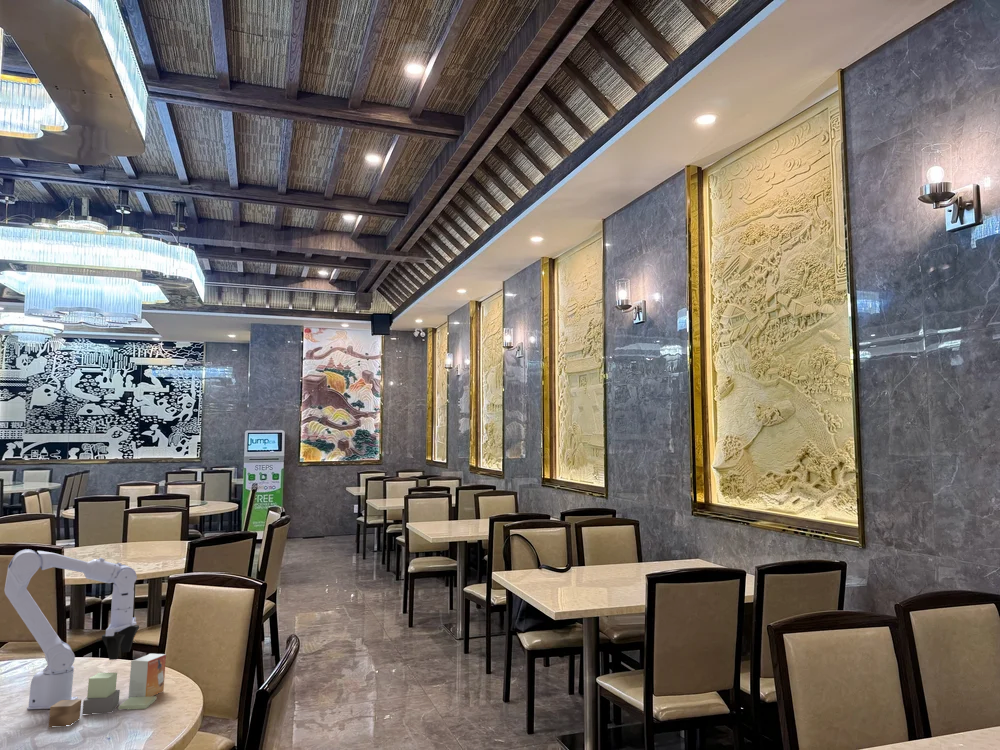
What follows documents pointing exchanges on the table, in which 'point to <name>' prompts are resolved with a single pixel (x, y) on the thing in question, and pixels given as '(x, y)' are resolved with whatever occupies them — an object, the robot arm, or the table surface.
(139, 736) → the table surface
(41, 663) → the table surface
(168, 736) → the table surface
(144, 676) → the small box
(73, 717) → the walnut block
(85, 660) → the table surface
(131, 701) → the sage green tile
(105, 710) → the charcoal base block
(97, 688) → the sage green block
